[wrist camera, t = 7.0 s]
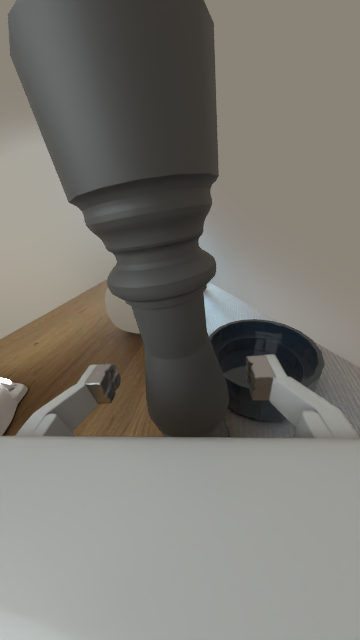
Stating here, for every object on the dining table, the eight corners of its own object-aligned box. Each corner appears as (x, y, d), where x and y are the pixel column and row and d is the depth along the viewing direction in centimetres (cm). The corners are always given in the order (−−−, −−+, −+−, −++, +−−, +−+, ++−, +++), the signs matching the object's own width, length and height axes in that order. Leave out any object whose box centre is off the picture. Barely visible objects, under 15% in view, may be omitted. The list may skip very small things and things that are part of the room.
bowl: (194, 401, 23) (189, 372, 20) (221, 341, 32) (220, 315, 30) (319, 445, 17) (336, 411, 14) (306, 355, 27) (315, 325, 24)
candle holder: (219, 416, 21) (198, 108, 8) (240, 484, 15) (277, -103, 3) (167, 426, 21) (65, 130, 8) (171, 499, 15) (-116, -46, 3)
